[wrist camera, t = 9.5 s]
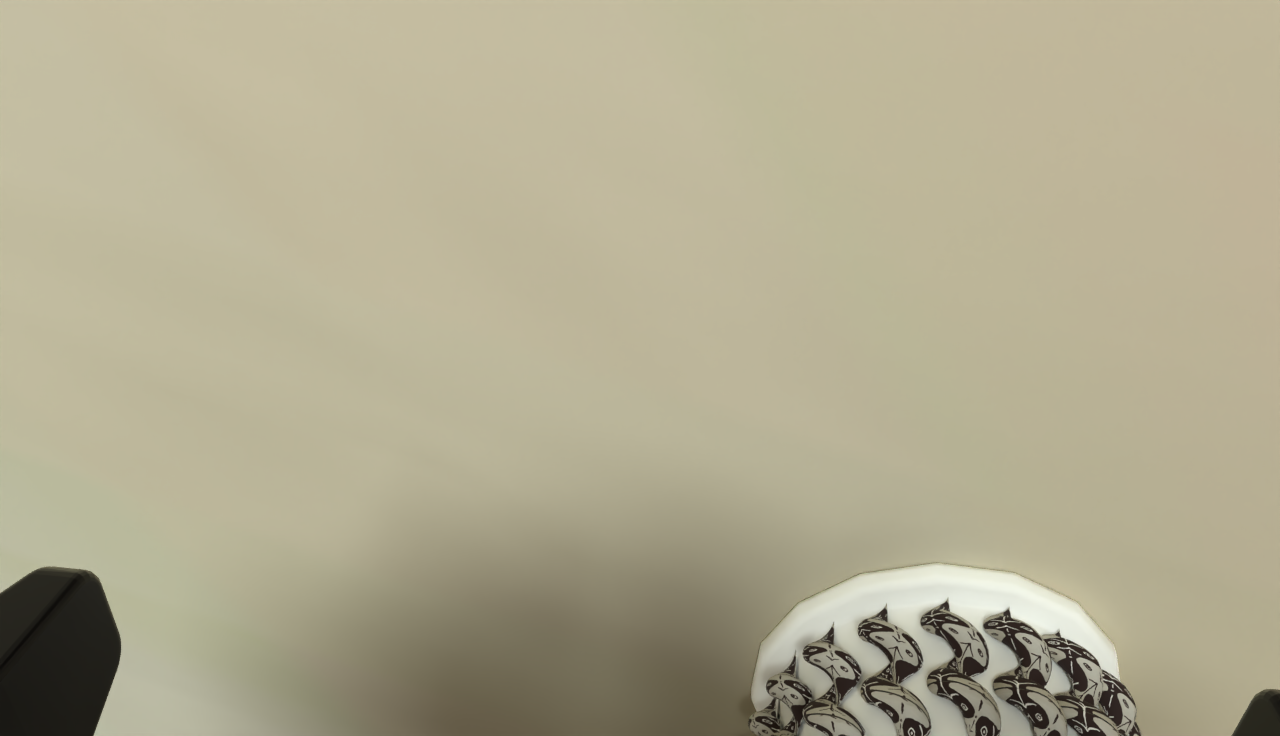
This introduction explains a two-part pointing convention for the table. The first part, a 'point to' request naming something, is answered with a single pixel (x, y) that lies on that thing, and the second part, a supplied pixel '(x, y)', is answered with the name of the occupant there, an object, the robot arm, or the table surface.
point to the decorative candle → (939, 661)
